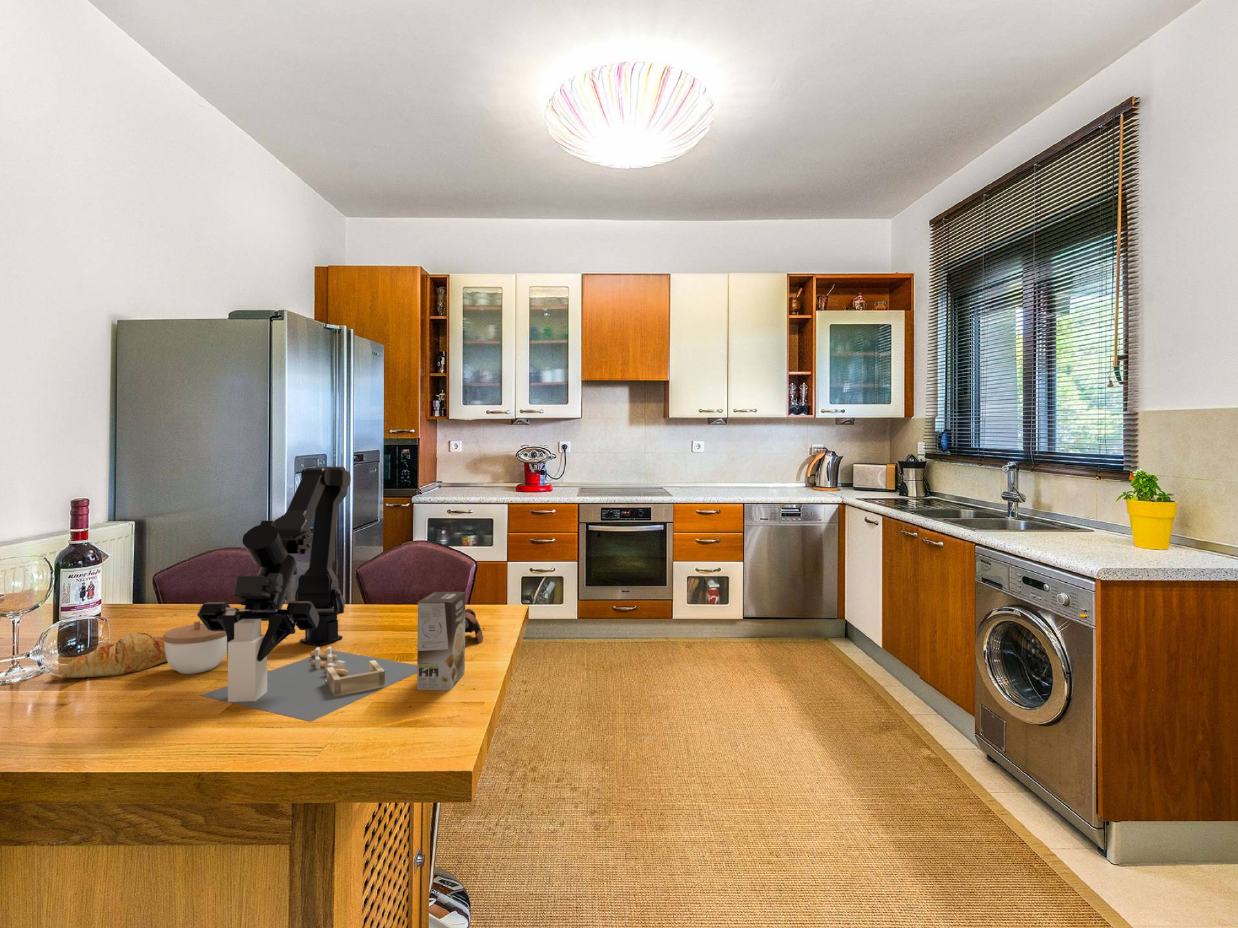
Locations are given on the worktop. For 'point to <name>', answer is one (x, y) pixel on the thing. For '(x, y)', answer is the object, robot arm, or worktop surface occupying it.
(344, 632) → the worktop surface
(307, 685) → the slate mat
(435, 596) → the coffee box
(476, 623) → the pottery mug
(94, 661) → the bread loaf
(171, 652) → the lidded jar
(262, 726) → the worktop surface
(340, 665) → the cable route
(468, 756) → the worktop surface
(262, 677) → the white square bottle
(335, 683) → the end holder
